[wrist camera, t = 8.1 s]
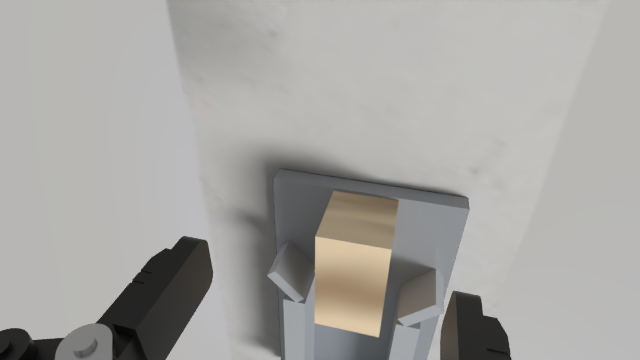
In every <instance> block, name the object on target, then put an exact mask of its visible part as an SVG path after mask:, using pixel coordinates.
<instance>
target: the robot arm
mask: <svg viewBox="0 0 640 360" xmlns="http://www.w3.org/2000/svg"><path fill="white" fill-rule="evenodd" d="M212 278H213V269H212V264H211V258H210V253H209V248H208V243H207V241H206V240H202V239H197V238H192V237H186V236H183V237H182V238H181V239H180V240H179V241H178V242H177V243H176V244H175V246H174V247H173V248H172V249H164V250H162V251H161V252H159V253H158V254H156V255H155V256H153V257H152V258H151V259H150V260H149V261H148V262H147V264H146V265H145V266H144V267H143V268H142V269H141V272H140V273H138V274H137V275H136V277H135V278H134V279H133V281H132V283H130V284H129V285H128V286H127V287H126V288H125V289H124V291H123V292H122V293H121V294H120V295H119V297H118V298H117V299H116V300H115V301H114V303H113V304H112V305H111V306H110V307H109V308H108V310H107V311H106V312H105V313H104V314H103V316H102V317H101V318H100V319H99V320H98V321H97V322H96V323H95V324H88V325H85V326H82V327H80V328H78V329H76V330H74V331H72V332H71V333H70V334H68V335H67V336H66V337H65V338H55V339H42V340H32V339H31V337H30V336H29V334H28V333H27V332H26V331H25V330H23V329H18V328H11V329H6V330H3V331H0V360H165V359H166V358H167V356H168V355H169V353H170V351H171V350H172V348H173V347H174V345H175V343H176V342H177V340H178V338H179V337H180V335H181V334H182V332H183V330H184V329H185V327H186V325H187V324H188V322H189V321H190V319H191V317H192V316H193V314H194V312H195V311H196V309H197V308H198V306H199V304H200V303H201V301H202V300H203V298H204V296H205V295H206V293H207V291H208V290H209V288H210V285H211V282H212ZM440 360H511V357H510V348H509V342H508V336H507V334H506V332H505V331H504V329H503V328H502V326H501V324H500V322H499V321H498V319H497V318H493V317H488V316H483V311H482V302H481V298H480V296H478V295H473V294H468V293H463V292H458V291H453V292H452V295H451V298H450V301H449V304H448V308H447V311H446V314H445V317H444V320H443V324H442V330H441V339H440Z"/></svg>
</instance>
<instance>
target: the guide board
mask: <svg viewBox="0 0 640 360" xmlns="http://www.w3.org/2000/svg"><path fill="white" fill-rule="evenodd" d="M273 185H274V208H275V231H276V255H277V256H276V258H275V260H274V262H273V264H272V266H271V268H270V270H269V272H268V274H267V276H268V277H269V278H270V279H271V280H272V281H273V282H274V283H275V284H276V285H277V286H278V301H279V324H280V347H281V360H427V357H428V353H429V350H430V346H431V343H432V339H433V336H434V332H435V329H436V325H437V322H438V318H439V315H440V314H443V313H444V297H445V294H446V290H447V287H448V283H449V280H450V276H451V273H452V269H453V266H454V262H455V259H456V255H457V252H458V248H459V245H460V241H461V238H462V234H463V231H464V227H465V224H466V220H467V217H468V213H469V210H470V209H469V201H468V198H465V197H459V196H452V195H446V194H439V193H433V192H426V191H420V190H413V189H407V188H400V187H394V186H387V185H381V184H375V183H368V182H362V181H355V180H349V179H342V178H336V177H329V176H323V175H316V174H310V173H303V172H297V171H291V170H284V169H279V170H278V172H277V173H276V175H275V176H274V178H273ZM333 191H340V192H346V193H353V194H360V195H366V196H373V197H380V198H386V199H393V200H399V202H398V210H397V217H396V224H395V231H394V238H393V245H392V252H391V258H390V265H389V272H388V279H387V286H386V292H385V299H384V306H383V313H382V320H381V326H380V333H379V337H375V336H370V335H366V334H361V333H357V332H352V331H348V330H343V329H339V328H334V327H329V326H325V325H320V324H316V323H315V236H316V233H317V231H318V228H319V226H320V223H321V221H322V219H323V216H324V214H325V211H326V209H327V206H328V204H329V201H330V199H331V196H332V194H333Z"/></svg>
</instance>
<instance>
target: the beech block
mask: <svg viewBox="0 0 640 360" xmlns="http://www.w3.org/2000/svg"><path fill="white" fill-rule="evenodd" d="M398 202H399V200H393V199H386V198H380V197H373V196H366V195H360V194H353V193H346V192H340V191H333V194H332V196H331V199H330V201H329V204H328V206H327V209H326V211H325V214H324V216H323V219H322V221H321V223H320V226H319V228H318V231H317V233H316V236H315V323H316V324H320V325H325V326H329V327H334V328H339V329H343V330H348V331H352V332H357V333H361V334H366V335H370V336H375V337H379V333H380V326H381V320H382V313H383V306H384V299H385V292H386V286H387V279H388V272H389V265H390V258H391V252H392V245H393V238H394V231H395V224H396V217H397V210H398Z"/></svg>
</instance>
